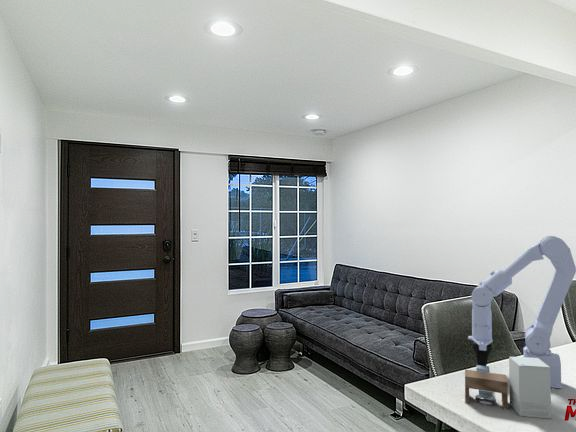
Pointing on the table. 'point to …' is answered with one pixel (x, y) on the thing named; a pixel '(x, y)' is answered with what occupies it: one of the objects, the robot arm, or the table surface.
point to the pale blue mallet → (483, 369)
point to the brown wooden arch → (486, 384)
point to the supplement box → (530, 387)
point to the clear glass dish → (485, 400)
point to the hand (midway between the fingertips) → (481, 366)
